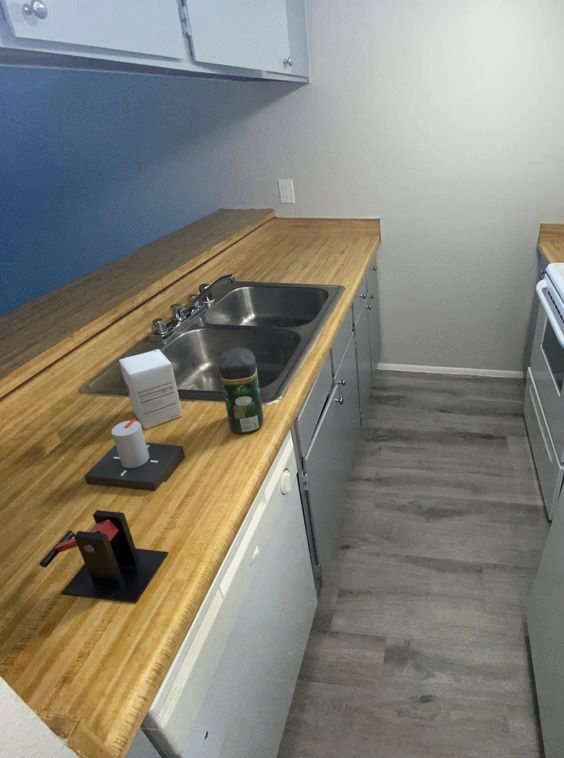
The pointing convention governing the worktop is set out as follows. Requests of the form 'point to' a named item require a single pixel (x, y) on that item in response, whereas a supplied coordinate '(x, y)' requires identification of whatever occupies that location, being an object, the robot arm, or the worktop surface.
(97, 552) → the black lever stand
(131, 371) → the white product box
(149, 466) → the dial panel
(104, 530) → the red lever
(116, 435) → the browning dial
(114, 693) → the worktop surface
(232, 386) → the coffee jar
